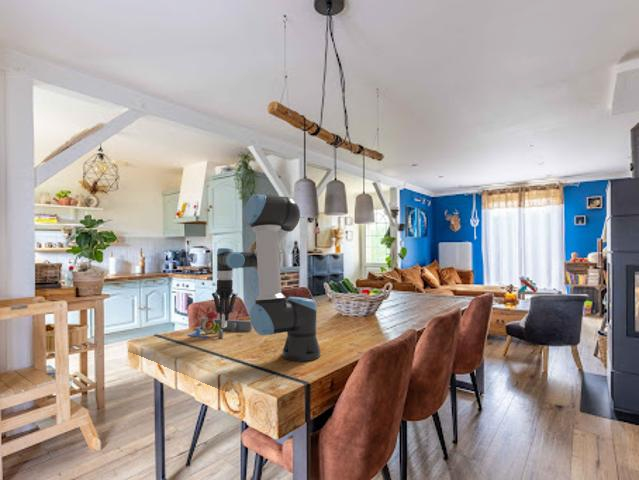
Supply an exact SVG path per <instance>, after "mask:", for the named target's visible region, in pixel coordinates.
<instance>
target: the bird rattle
mask: <svg viewBox="0 0 639 480" xmlns="http://www.w3.org/2000/svg"><path fill="white" fill-rule="evenodd" d="M206 318H207V319H205V320H204V322H203V324H202V328H201V329H203V332H204V333H205V334H206V335H208V334H210V333H213V332H214V333H215V334H216V333H218V331H219V329H221V328H220V327H219V324H218V323H217V324H216V323H215V321H214V319H215V318H217V313H215V311H211V312H207V313H206ZM210 322H211V323H210ZM209 329H210V330H209Z"/></svg>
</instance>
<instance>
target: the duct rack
mask: <svg viewBox="0 0 639 480" xmlns="http://www.w3.org/2000/svg"><path fill="white" fill-rule="evenodd" d="M207 318H208V317H202V318H200V327H196V328H195V331H194V332H191V333H189V334H187V337H196V338H209V337H210V336H209V335H205V334H204V335H202V334H201V332H202V331H203V332H204V330H203V328H202V324H203V322H204V320H205V319H207ZM213 319H214V321H215V323H216V324H217V323H218V324H219V327H220V328H221V329H219V331H218V332H217V333H218V334H217V335H218V337H217V339H219V340H222V339H224V331H231V332H233V333H235V332H249V333H250V332H252V328H253V326H252V324H251V320H243V319H242V320H239V319H228V320H227V327H225V328H222V320H220V318H213ZM210 323H211V322H210ZM209 330H210V329H209Z"/></svg>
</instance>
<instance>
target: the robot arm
mask: <svg viewBox="0 0 639 480" xmlns="http://www.w3.org/2000/svg"><path fill="white" fill-rule="evenodd" d="M300 218H301V210H300V207H299V206H298V203H297V202H296V201H295V200H294V199H292V198H290V197H288V196H279V195H272V194H265V193H262V194H257V193H256V194H252V195H251V196H250V197H249V199H248V201H247V203H246V204H245V208H244V219H245V222H246V223H247V224H249V225H250V226H251V227H250V228H251V231H253V232H254V233H255V245H256V249H254V250H253V251H252V252H251V251H234V250H233V248H232V247H218V248H217V252H216V279H217V280H216V290H215V292H212V293H211V296H212V297H213V301H214V306H215V310H216V314H217V313H218V314H219V319H220V320H222V328H225V327H227V320H230V319H229V317H230V316H229V315H230V314H231V313H233V311H234V307H235V303H236V298H237V297H238V293H237V292H236V293H235V291H234V289H233V276H234V275H233V272H234V271H233V270H234V269H235V270H236V269H247V268H257V284H258V295H257V297H256V298H255V299H254V300H255V301H254V302H255V303H254V304H252V305H251V307H250V310H249V319H250V320H249V321H251V324H252V328H253V330H254V331H255V333H256V334H257V335H259V336H272V335H276V334H282V333H286V334H287V336H286V339H285V343H284V345H283V347H282V357H283V358H285V359H286V360H289V361H293V362H294V361H295V362H308V361H313V360H317V359H319V358H320V357H321V348H320V345H319V342H318V339H317V312H318V308H317V302H316V300H314V299H311V298H307V297H300V296H289V297H286V296H285V294H283V293H282V281H281V279H282V278H281V268H280V267H281V265H280V264H281V263H280V252H279V251H280V249H279V248H280V247H279V245H280V244H281V242H282V241H283V240H284V239H285V237H286V236H287V235H288V234H289V232H293V231H294V230H295V228H296V227H297V226H298V224H299V222H300V220H301V219H300ZM286 298H288V299H287V302H286Z"/></svg>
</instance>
